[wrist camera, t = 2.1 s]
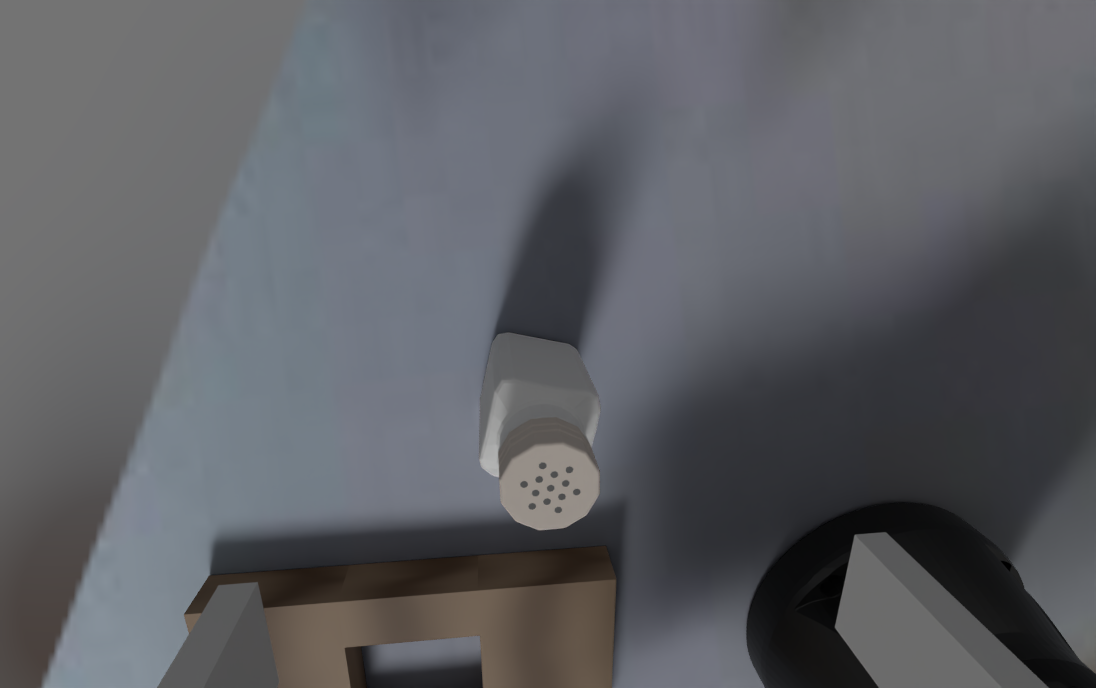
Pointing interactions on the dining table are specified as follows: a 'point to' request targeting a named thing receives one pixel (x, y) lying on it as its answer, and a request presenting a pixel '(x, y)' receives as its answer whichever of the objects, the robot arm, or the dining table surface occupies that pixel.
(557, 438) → the pepper shaker
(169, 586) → the dining table surface
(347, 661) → the spice block
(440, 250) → the dining table surface
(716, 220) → the dining table surface
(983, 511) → the dining table surface
